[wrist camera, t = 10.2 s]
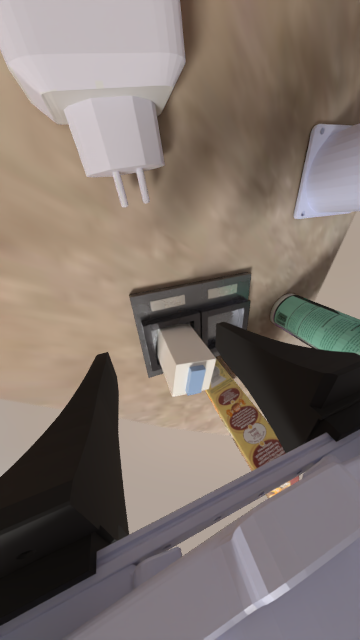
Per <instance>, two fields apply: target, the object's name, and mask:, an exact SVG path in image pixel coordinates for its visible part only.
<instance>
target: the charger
mask: <svg viewBox="0 0 360 640" xmlns="http://www.w3.org/2000/svg"><path fill="white" fill-rule="evenodd" d="M0 50H1V52H2V55H3V57H4V59H5V62H6V64H7V66H8V69H9V70H10V72H11V73H12V75H13V76H14V78H15V79H16V81H17V82H18V84H19V85H20V87H21V88H22V90H23V91H24V93H25V94H26V96H27V97H28V99H29V100H30V102H31V103H32V104H33V105H34V106H36V107H37V108H38V109H39V110H41V111H42V112H43V113H44V114H46V115H47V116H48V117H49V118H50V119H52V120H53V121H54V122H55V123H57V124H69V127H70V130H71V133H72V136H73V138H74V141H75V144H76V147H77V150H78V153H79V156H80V159H81V161H82V164H83V167H84V170H85V173H86V176H87V177H110V176H113V178H114V181H115V185H116V188H117V192H118V195H119V199H120V202H121V206H122V207H127V206H128V202H127V198H126V194H125V191H124V187H123V183H122V179H121V176H120V175H125V174H131V173H137V177H138V182H139V186H140V190H141V195H142V199H143V202H144V203H149V201H150V200H149V195H148V190H147V186H146V181H145V176H144V172H143V171H147V170H151V169H155V168H159V167H162V166H164V165H165V163H164V157H163V151H162V145H161V138H160V132H159V126H158V120H157V116H158V115H160V114H161V113H162V111H163V109H164V107H165V105H166V102H167V100H168V98H169V96H170V94H171V92H172V90H173V88H174V86H175V84H176V82H177V80H178V78H179V76H180V74H181V71H182V69H183V67H184V65H185V61H186V60H185V49H184V38H183V28H182V17H181V6H180V0H0Z"/></svg>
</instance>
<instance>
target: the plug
mask: <svg viewBox="0 0 360 640" xmlns="http://www.w3.org/2000/svg"><path fill="white" fill-rule="evenodd" d="M156 353H157V356H158V359H159V361H160V364H161V367H162V370H163V373H164V375H165V378H166V381H167V384H168V386H169V389H170V392H171V395H172V397H174V396H179V395H184V394H187V395H193V394H197V393H201V391H202V390H207V389H209V386H210V382H211V378H212V374H213V370H214V366H215V362H216V358H215V356H214V355H213V354H212V353H211V351H210V350H209V349H208V347H207V346H206V345H205V344H204V342H203V341H202V340H201V339H200V337H199V336H198V335H197V333H196V332H195V331H194V330H193V328H192V327H191V326H190V324H178V325H174V326H170V327H166V328H162V329H158V335H157V352H156Z"/></svg>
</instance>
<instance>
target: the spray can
mask: <svg viewBox="0 0 360 640" xmlns="http://www.w3.org/2000/svg"><path fill="white" fill-rule="evenodd" d="M270 320H271V322H272V323H273V324H275V325H276V326H278V327H280V328H281V329H283V330H284V331H286V332H288V333H289V334H291V335H292V336H294V337H296V338H297V339H299V340H301V341H302V342H304V343H305V344H307V345H309V346H310V347H312V348H314V349H321V350H329V351H340V352H352V353H356V354H358V355H360V320H359V319H356V318H354V317H351V316H349V315H346V314H343V313H341V312H339V311H336V310H334V309H331V308H329V307H326V306H323V305H321V304H318V303H315V302H313V301H311V300H308V299H306V298H303V297H300V296H298V295H295V294H291V293H290V294H286V295H284V296H282V297H281V298H280V299H278V301H277V302H276V303H275V304H274V306H273V307H272V310H271V313H270Z"/></svg>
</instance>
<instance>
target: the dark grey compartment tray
mask: <svg viewBox="0 0 360 640" xmlns="http://www.w3.org/2000/svg"><path fill="white" fill-rule="evenodd" d="M250 280H251V273H248V272H246V273H241V274H235V275H230V276H225V277H220V278H215V279H209V280H204V281H199V282H194V283H189V284H183V285H178V286H173V287H168V288H162V289H157V290H152V291H147V292H142V293H136V294H131V295H129V297H130V301H131V305H132V309H133V314H134V318H135V322H136V326H137V330H138V335H139V339H140V343H141V347H142V352H143V356H144V360H145V364H146V369H147V373H148V377H149V378H150V377H153V376H156V375H160V374H163V370H162V367H161V364H160V361H159V359H158V356H157V353H156V352H157V335H158V329H162V328H166V327H170V326H174V325H178V324H190V326H191V327H192V328H193V330H194V331H195V332H196V333H197V335H198V336H199V337H200V339H201V340H202V341H203V342H204V344H205V345H206V346H207V347H208V349H209V350H210V351H211V353H212V354H213V355H214V356H215V357H217V356H220V354H219V352H218V350H217V349H216V347H215V345H216V324H217V323H221V322H227V323H229V324H232V325H235V326H237V327H240V328H242V329H245V330H247V324H248V316H249V309H250V300H248V296H249V288H250Z"/></svg>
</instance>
